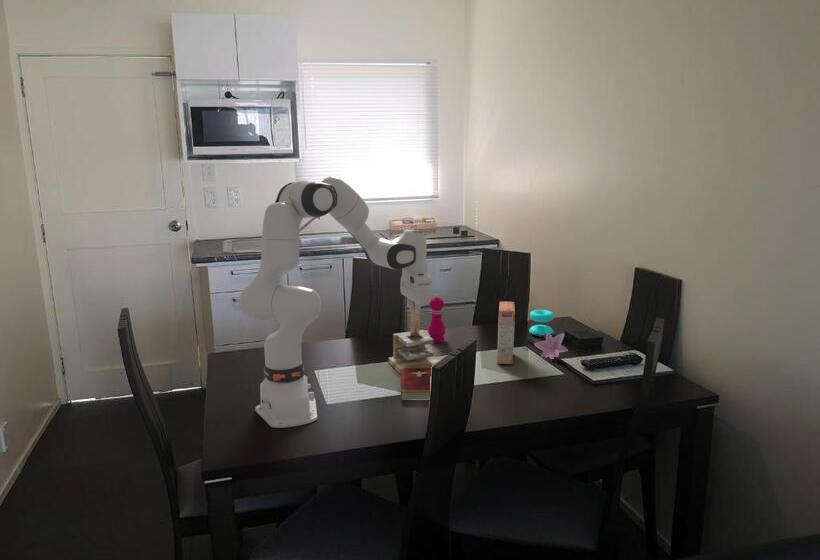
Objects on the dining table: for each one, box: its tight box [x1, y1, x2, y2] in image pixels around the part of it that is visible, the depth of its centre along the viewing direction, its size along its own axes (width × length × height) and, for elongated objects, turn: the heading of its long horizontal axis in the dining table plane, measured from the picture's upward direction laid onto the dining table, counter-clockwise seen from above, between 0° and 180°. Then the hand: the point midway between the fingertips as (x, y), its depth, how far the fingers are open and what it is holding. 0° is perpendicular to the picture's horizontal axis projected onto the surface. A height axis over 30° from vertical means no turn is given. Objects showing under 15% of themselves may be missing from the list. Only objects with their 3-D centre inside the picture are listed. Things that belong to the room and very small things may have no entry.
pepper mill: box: [427, 293, 446, 344], centre depth 257 cm, size 7×7×20 cm
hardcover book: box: [400, 367, 431, 401], centre depth 210 cm, size 12×21×4 cm, turn 0°
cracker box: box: [496, 301, 516, 365], centre depth 235 cm, size 14×6×21 cm, turn 171°
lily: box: [533, 332, 569, 360], centre depth 237 cm, size 12×12×10 cm
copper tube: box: [409, 300, 420, 348], centre depth 228 cm, size 3×3×18 cm
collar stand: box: [387, 329, 440, 375], centre depth 230 cm, size 14×16×11 cm
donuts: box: [529, 309, 555, 335], centre depth 265 cm, size 10×10×10 cm
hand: (414, 311), depth 227 cm, fingers closed on copper tube, 3 cm apart
